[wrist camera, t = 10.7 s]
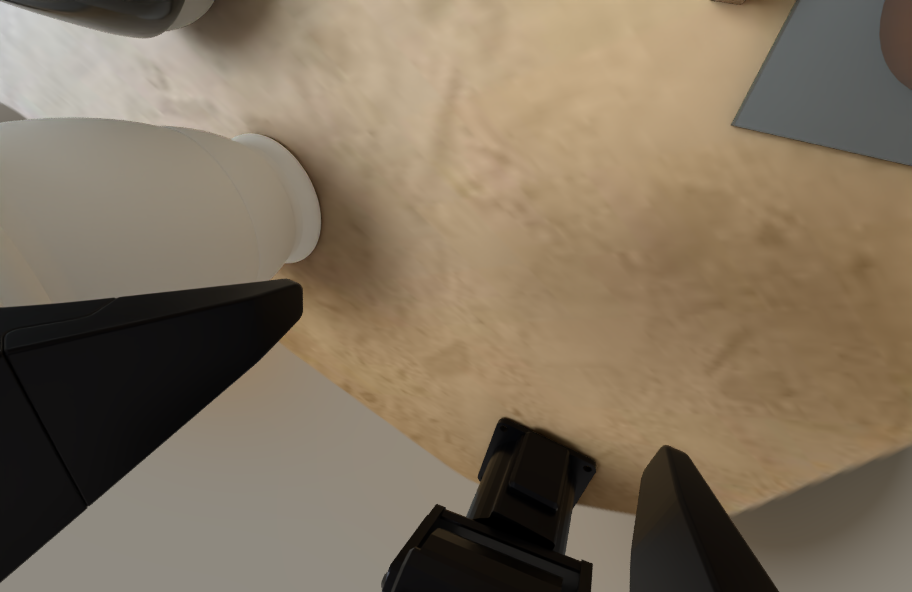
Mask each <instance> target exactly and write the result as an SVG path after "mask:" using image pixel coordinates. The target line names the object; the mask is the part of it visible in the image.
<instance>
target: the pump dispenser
mask: <svg viewBox="0 0 912 592" xmlns="http://www.w3.org/2000/svg"><path fill="white" fill-rule="evenodd" d="M0 1H1V2H4V3H7V4H10V5H12V6H15V7H19V8H22V9H25V10H28V11H31V12H34V13H37V14H41V15H44V16H47V17H51V18H54V19H57V20H61V21H64V22H68V23H72V24H75V25H79V26H82V27H86V28H90V29H93V30H97V31H101V32H105V33H110V34H115V35H120V36H126V37H133V38H152V37H155V36H158V35H160V34H162V33H163V32H165V31H170V30H175V29H179V28H182V27H184V26H187V25H189V24H191V23H193V22H195V21H196V20H198V19H199V18H200V17H201V16H203V15H204V14H205V13H206V12H207V11H208V9H209V8H210V7H211V6H212V4H213V2H214V1H215V0H0Z"/></svg>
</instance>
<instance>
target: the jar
mask: <svg viewBox="0 0 912 592" xmlns="http://www.w3.org/2000/svg"><path fill="white" fill-rule="evenodd" d="M320 230H321V212H320V207H319V202H318V198H317V195H316V192H315V189H314V187H313V185H312V182H311V180H310V179H309V177H308V175H307V173H306V171H305V170H304V168H303V167H302V166H301V164H300V163H299V161H298V160H297V159H296V158H295V157H294V156H293V155H292V154H291V153H290V152H289V151H288V150H287V149H286V148H285V147H283V146H282V145H281V144H279V143H278V142H276V141H275V140H273V139H271V138H269V137H266V136H264V135H260V134H254V133H246V134H241V135H238V136H236V137H234V138H232V139H229V138H226V137H223V136H220V135H217V134H214V133H210V132H206V131H202V130H197V129H191V128H183V127H174V126H155V125H150V124H145V123H139V122H132V121H124V120H115V119H102V118H43V119H29V120H19V121H10V122H2V123H0V307H13V306H27V305H40V304H52V303H65V302H75V301H85V300H95V299H104V298H113V297H114V298H118V297H123V296H132V295H141V294H150V293H159V292H168V291H178V290H187V289H196V288H205V287H214V286H223V285H232V284H242V283H251V282H260V281H269V280H270V279H271V278H272V277H273V276H274V275H275V274H276V273H277V272H278V271H279V270H280V269H281V267H282V266H283V265H284V263H295V262H298V261H301V260H303V259H305V258H306V257H307V256H308V255H310V253H311V252H312V251H313V250H314V248H315V246H316V244H317V242H318V239H319V236H320Z"/></svg>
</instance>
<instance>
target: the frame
mask: <svg viewBox="0 0 912 592" xmlns="http://www.w3.org/2000/svg"><path fill="white" fill-rule="evenodd" d="M713 1H719V2H726V3H733V4H739V5H741V4H742V3H743V2H744V1H745V0H713Z"/></svg>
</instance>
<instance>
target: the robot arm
mask: <svg viewBox="0 0 912 592" xmlns="http://www.w3.org/2000/svg"><path fill="white" fill-rule="evenodd" d="M302 313H303V288H302V286H301V285H300V284H299V283H297V282H294V281H292V280H290V279H278V280H269V281H260V282H251V283H242V284H232V285H223V286H214V287H205V288H196V289H187V290H178V291H168V292H159V293H150V294H141V295H132V296H123V297H118V298H114V297H113V298H104V299H95V300H85V301H75V302H65V303H52V304H40V305H27V306H13V307H0V583H1V582H2V581H3V580H4V579H5V578H7V577H8V576H9V575H10V574H11V573H12V572H13V571H15V570H16V569H17V568H18V567H19V566H20V565H22V564H23V563H24V562H25V561H26V560H28V559H29V558H30V557H31V556H32V555H33V554H35V553H36V552H37V551H38V550H39V549H40V548H42V547H43V546H44V545H45V544H46V543H47V542H49V541H50V540H51V539H52V538H53V537H54V536H56V535H57V534H58V533H59V532H60V531H61V530H63V529H64V528H65V527H66V526H67V525H68V524H70V523H71V522H72V521H73V520H74V519H75V518H77V517H78V516H79V515H80V514H81V513H82V512H84V511H85V510H86V509H87V507H88V506H90V505H91V504H93V503H94V502H95V501H96V500H97V499H98V498H99V497H101V496H102V495H103V494H104V493H105V492H107V491H108V490H109V489H110V488H111V487H112V486H113V485H115V484H116V483H117V482H118V481H119V480H121V479H122V478H123V477H124V476H125V475H126V474H128V473H129V472H130V471H131V470H132V469H133V468H135V467H136V466H137V465H138V464H139V463H140V462H142V461H143V460H144V459H145V458H146V457H147V456H149V455H150V454H151V453H152V452H153V451H155V450H156V449H157V448H158V447H159V446H160V445H162V444H163V443H164V442H165V441H166V440H167V439H169V438H170V437H171V436H172V435H173V434H174V433H176V432H177V431H178V430H179V429H180V428H181V427H182V426H184V425H185V424H186V423H187V422H188V421H190V420H191V419H192V418H193V417H194V416H195V415H197V414H198V413H199V412H200V411H201V410H202V409H204V408H205V407H206V406H207V405H208V404H209V403H211V402H212V401H213V400H214V399H215V398H216V397H218V396H219V395H220V394H221V393H222V392H223V391H225V390H226V389H227V388H228V387H229V386H231V385H232V384H233V383H234V382H235V381H236V380H237V379H239V378H240V377H241V376H242V375H243V374H245V373H246V372H247V371H248V370H249V369H250V368H252V367H253V366H254V365H255V364H256V363H257V362H258V361H259V360H260V359H261V358H262V357H263V356H264V355H265V354H266V353H267V352H268V351H269V350H270V349H271V348H272V347H273V346H274V345H275V344H276V343H277V342H278V341H279V340H280V339H281V338H282V337H283V336H284V335H285V334H286V333H287V332H288V331H289V330H290V329H291V328H292V327H293V325H294V324H295V323H296V322H297V321H298V320H299V319H300V318H301V316H302ZM504 426H505V427H504ZM506 427H507V428H506ZM587 466H589V467H587ZM596 467H597V465H596V462H595V461H594V460H592V459H591V458H588V457H586V456H584V455H582V454H580V453H578V452H576V451H574V450H572V449H569V448H567V447H565V446H563V445H561V444H559V443H557V442H555V441H552V440H550V439H548V438H546V437H544V436H542V435H540V434H538V433H535V432H533V431H531V430H529V429H527V428H525V427H523V426H521V425H518V424H516V423H514V422H512V421H510V420H508V419H505V418H502V419H500V420H499V421H498V423H497V425H496V428H495V431H494V434H493V436H492V439H491V442H490V444H489V447H488V450H487V452H486V455H485V458H484V461H483V463H482V466H481V469H480V471H479V474H478V479H479V481H480V485H479V487H478V489H477V492H476V494H475V497H474V499H473V501H472V504H471V506H470V509H469V511H468V513H467V516H466V517H465V516H462V515H459V514H457V513H454V512H451V511H449V510H446V508H445V507H443V506H441V505H438V504H436V505H435V507H434V508H433V509H432V511H431V512H430V513H429V515H427V516H426V517H425V519H424V520H423V521H422V523H421V524H420V526H419V527H418V529H416V531H415V532H414V534H413V535H412V536H411V538H410V539H409V540H408V542H407V543H406V544H405V546H404V547H403V548H402V550H401V551H400V552H399V554H398V555H397V557H396V558H395V559H394V561H393V562H392V563H391V565H390V567H389V570H388V572H387V573H386V574H385V575H384V577H383V580H382V583H381V587H382V592H591V582H592V567H593V564H592V563H589V562H587V561H584V560H582V561H579V560H576V559H573V558H571V557H568V556H566V555H565V552H566V545H567V539H568V533H569V527H570V521H571V514H572V509H573V508H574V506H575V505H576V503H577V501H578V500H579V498H580V497H581V495H582V493H583V492H584V490H585V489H586V487H587V485H588V484H589V482H590V481H591V479H592V477H593V476H594V474H595V473H596ZM630 592H779V591H778V589H777V588H776V586H775V585H774V583H773V582H772V580H771V579H770V577H769V576H768V574H767V573H766V571H765V570H764V568H763V567H762V565H761V564H760V562H759V561H758V559H757V558H756V556H755V555H754V553H753V552H752V550H751V549H750V547H749V546H748V545H747V543H746V541H745V540H744V538H743V537H742V535H741V534H740V532H739V531H738V529H737V528H736V526H735V525H734V523H733V522H732V520H731V519H730V517H729V516H728V514H727V513H726V511H725V510H724V508H723V507H722V505H721V504H720V502H719V501H718V499H717V498H716V496H715V495H714V493H713V492H712V490H711V489H710V487H709V486H708V484H707V483H706V481H705V480H704V478H703V477H702V475H701V474H700V472H699V471H698V469H697V468H696V466H695V465H694V463H693V462H692V460H691V459H690V457H689V456H688V455H687V454H686V453H684V452H682V451H680V450H678V449H675V448H673V447H671V446H669V445H664V446H662V447H661V448H660V449H659V450H658V452H657V453H656V455H655V456H654V457H653V459H652V460H651V461H650V463H649V464H648V465H647V467H646V468H645V470H644V472H643V475H642V478H641V484H640V491H639V498H638V505H637V512H636V520H635V526H634V533H633V540H632V548H631V562H630Z"/></svg>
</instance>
